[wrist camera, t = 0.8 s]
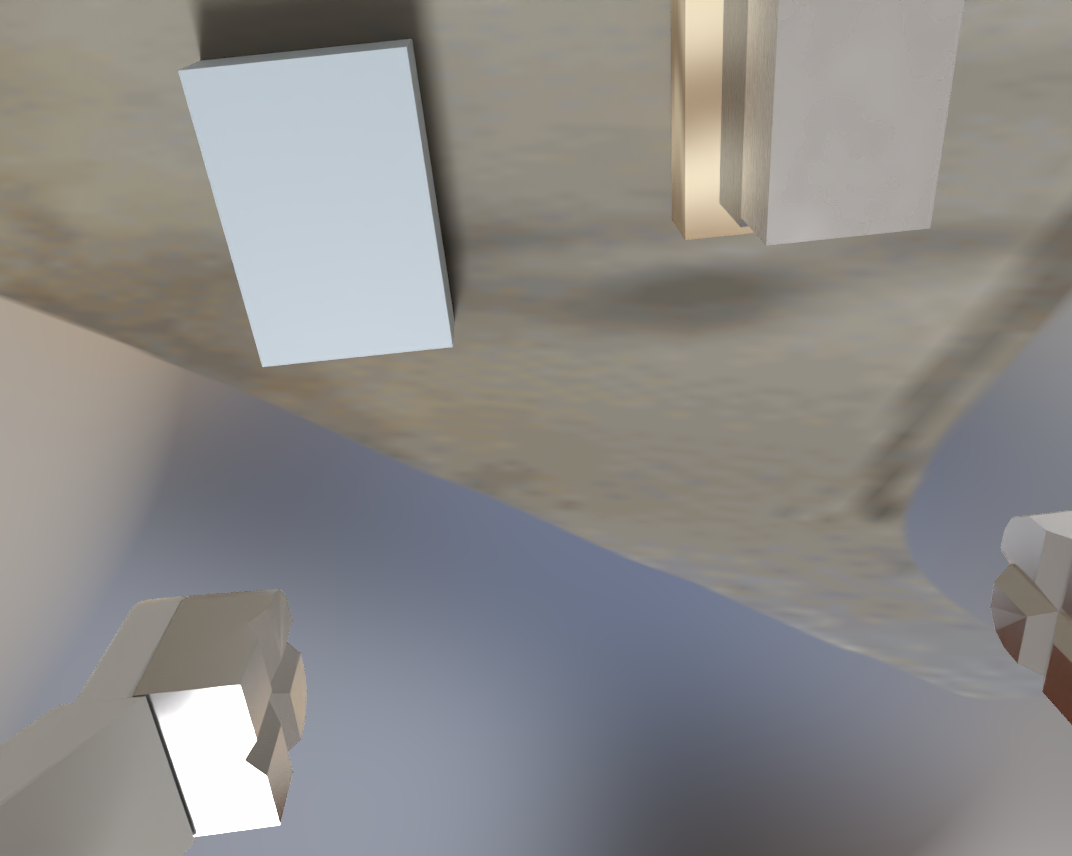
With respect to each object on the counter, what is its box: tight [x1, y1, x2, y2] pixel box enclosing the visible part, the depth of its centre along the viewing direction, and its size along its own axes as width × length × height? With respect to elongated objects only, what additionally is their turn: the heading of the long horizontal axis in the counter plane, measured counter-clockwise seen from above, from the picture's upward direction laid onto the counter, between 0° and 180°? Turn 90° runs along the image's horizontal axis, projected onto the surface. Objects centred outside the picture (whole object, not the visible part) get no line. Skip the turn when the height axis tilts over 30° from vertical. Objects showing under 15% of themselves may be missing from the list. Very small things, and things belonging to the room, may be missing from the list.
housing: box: [719, 0, 965, 245], centre depth 31 cm, size 10×6×7 cm, turn 5°
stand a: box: [671, 0, 754, 240], centre depth 36 cm, size 13×9×3 cm
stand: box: [178, 39, 455, 367], centre depth 38 cm, size 13×9×3 cm
